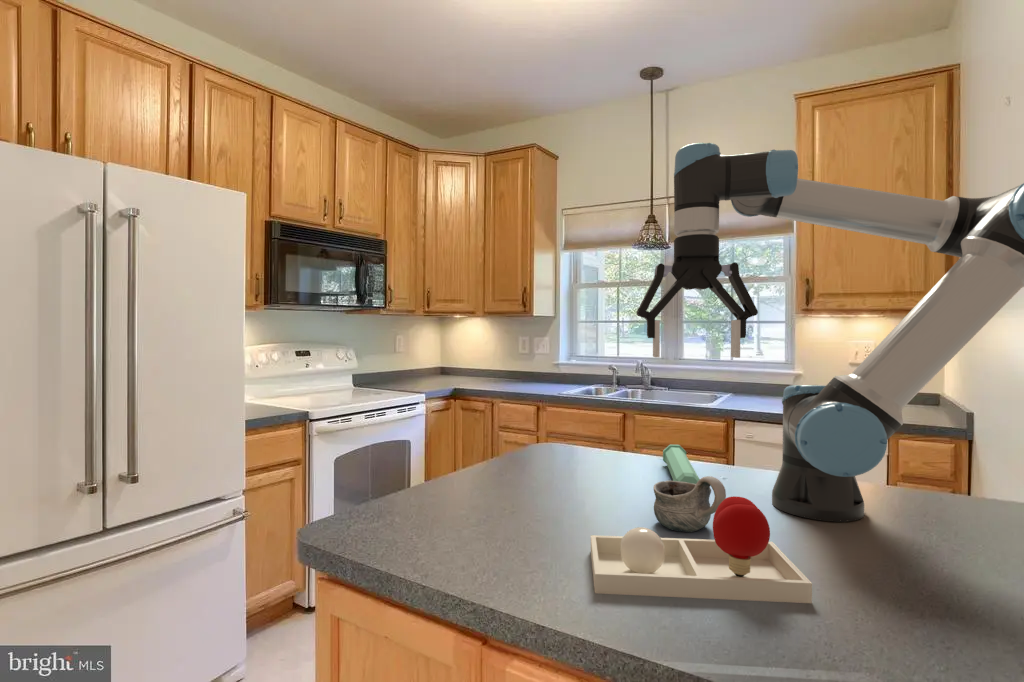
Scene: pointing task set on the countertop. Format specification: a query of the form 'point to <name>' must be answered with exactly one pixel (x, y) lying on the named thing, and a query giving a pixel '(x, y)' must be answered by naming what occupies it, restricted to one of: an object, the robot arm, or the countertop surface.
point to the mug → (687, 503)
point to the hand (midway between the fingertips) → (695, 357)
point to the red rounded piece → (740, 532)
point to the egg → (642, 550)
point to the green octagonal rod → (679, 464)
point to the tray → (699, 573)
